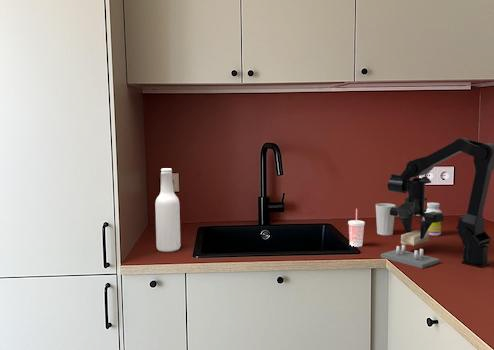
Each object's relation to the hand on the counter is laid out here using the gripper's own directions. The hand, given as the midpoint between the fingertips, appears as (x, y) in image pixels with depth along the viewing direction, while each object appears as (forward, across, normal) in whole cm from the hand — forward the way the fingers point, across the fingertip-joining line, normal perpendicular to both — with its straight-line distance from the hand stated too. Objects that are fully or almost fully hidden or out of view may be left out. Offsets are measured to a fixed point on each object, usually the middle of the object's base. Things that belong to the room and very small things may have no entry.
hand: (415, 237), depth 176 cm
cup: (+5, -23, +13) cm, 27 cm away
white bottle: (+5, -58, -69) cm, 90 cm away
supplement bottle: (+5, -10, +27) cm, 29 cm away
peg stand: (+5, +6, -12) cm, 14 cm away
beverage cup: (+5, -18, -11) cm, 22 cm away
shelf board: (+2, 0, 0) cm, 2 cm away
